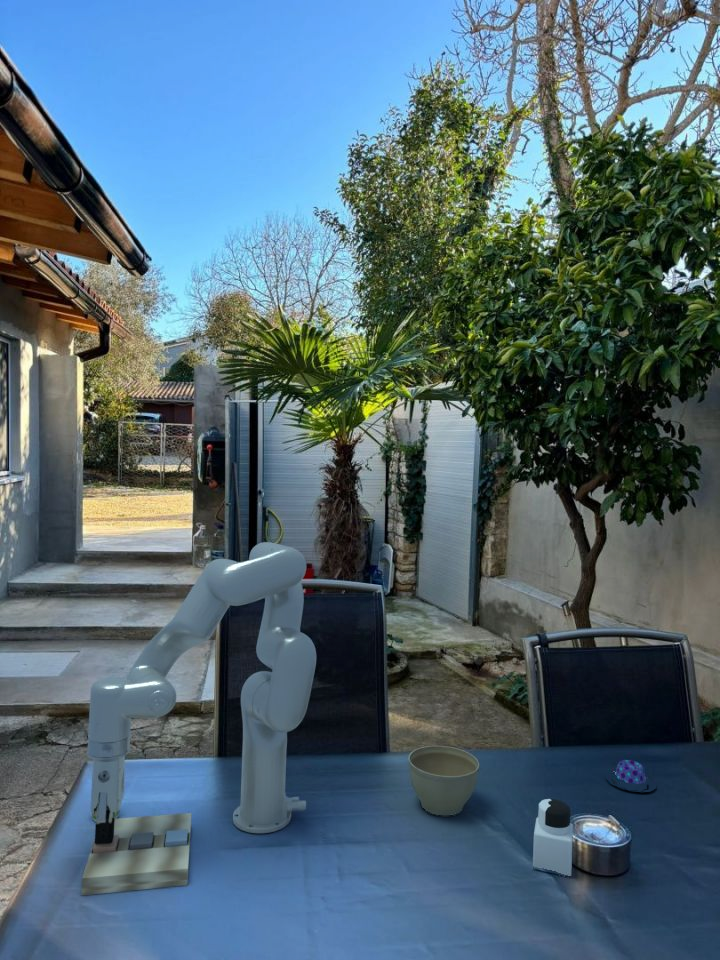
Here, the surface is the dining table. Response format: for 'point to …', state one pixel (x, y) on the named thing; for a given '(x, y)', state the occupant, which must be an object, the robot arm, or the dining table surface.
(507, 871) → the dining table surface
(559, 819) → the medicine bottle
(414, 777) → the planter bowl
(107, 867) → the keypad
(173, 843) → the key blue
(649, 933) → the dining table surface
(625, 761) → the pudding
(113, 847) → the key pink
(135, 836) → the key charcoal
